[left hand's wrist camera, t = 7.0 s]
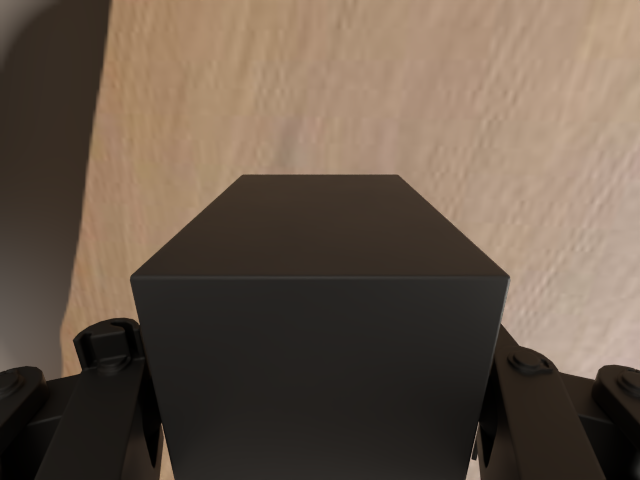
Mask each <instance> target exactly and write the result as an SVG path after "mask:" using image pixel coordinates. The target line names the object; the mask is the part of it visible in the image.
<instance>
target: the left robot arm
mask: <svg viewBox="0 0 640 480" xmlns="http://www.w3.org/2000/svg"><path fill="white" fill-rule="evenodd" d="M73 342H74V346H75V349H76V352H77V355H78V358H79V362H80V365H81V368H82V372H81V374H77V375H73V376H69V377H64V378H60V379H55V380H50V381H46V380H45V378H44V375H43V372H42V371H41V370H40V369H38V368H37V367H29V366H25V367H18V368H13V369H9V370H7V371H3V372H0V480H159V478H160V469H161V459H162V450H163V440H164V436H163V430H162V426H161V423H162V421H161V416H160V412H159V407H158V403H157V398H156V394H155V390H154V385H153V381H152V376H151V372H150V367H149V363H148V358H147V354H146V349H145V345H144V341H143V336H142V332H141V327H140V325H139V324H138V323H137V322H136V321H135V320H133V319H129V318H113V319H109V320H105V321H101V322H98V323H96V324H94V325H91V326H89V327H87V328H86V329H84V330H83V331H81V332H80V333H79V334H78V335H77V336H76V337H75V338H74V339H73ZM477 455H478V458H479V467H480V477H481V480H640V370H637V369H634V368H630V367H626V366H619V365H606V366H603V367H602V368H600V369H599V370H598V373H597V376H596V379H595V380H593V379H588V378H583V377H579V376H574V375H569V374H565V373H561V372H559V371H558V369H557V368H556V366H555V365H554V364H553V362H552V361H550V360H549V359H548V358H546V357H545V356H544V355H542V354H540V353H538V352H536V351H534V350H532V349H529V348H525V347H521V346H519V345H518V344H517V342H516V341H515V340H514V339H513V338H512V336H511V335H510V334H509V333H508V332H507V330H506V329H505V328H504V327H503V325H502V324H500V329H499V333H498V338H497V342H496V346H495V351H494V355H493V360H492V364H491V369H490V373H489V378H488V382H487V386H486V391H485V395H484V400H483V404H482V409H481V413H480V418H479V426H478V430H477V435H476V439H475V443H474V448H473V452H472V460H476V459H477Z"/></svg>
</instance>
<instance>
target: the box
mask: <svg viewBox="0 0 640 480" xmlns="http://www.w3.org/2000/svg"><path fill="white" fill-rule="evenodd" d="M130 283H131V287H132V291H133V296H134V300H135V305H136V309H137V314H138V318H139V323H140V327H141V332H142V336H143V341H144V345H145V349H146V354H147V358H148V363H149V367H150V372H151V376H152V381H153V385H154V390H155V394H156V398H157V403H158V407H159V412H160V416H161V421H162V425H163V430H164V434H165V439H166V443H167V448H168V452H169V456H170V461H171V465H172V470H173V474H174V479H175V480H466V475H467V471H468V466H469V462H470V458H471V453H472V449H473V444H474V440H475V435H476V431H477V426H478V422H479V418H480V413H481V409H482V404H483V400H484V395H485V391H486V386H487V382H488V378H489V373H490V369H491V364H492V360H493V355H494V351H495V346H496V342H497V338H498V333H499V329H500V324H501V320H502V315H503V311H504V306H505V302H506V298H507V293H508V289H509V284H510V276H509V275H508V274H507V273H506V272H505V271H504V270H502V269H501V268H500V267H499V266H498V265H497V264H496V263H495V262H494V261H493V260H491V259H490V258H489V257H488V256H487V255H486V254H485V253H484V252H483V251H481V250H480V249H479V248H478V247H477V246H476V245H475V244H474V243H473V242H472V241H470V240H469V239H468V238H467V237H466V236H465V235H464V234H463V233H462V232H461V231H459V230H458V229H457V228H456V227H455V226H454V225H453V224H452V223H451V222H449V221H448V220H447V219H446V218H445V217H444V216H443V215H442V214H441V213H440V212H438V211H437V210H436V209H435V208H434V207H433V206H432V205H431V204H430V203H429V202H427V201H426V200H425V199H424V198H423V197H422V196H421V195H420V194H419V193H418V192H416V191H415V190H414V189H413V188H412V187H411V186H410V185H409V184H408V183H406V182H405V181H404V180H403V179H402V178H401V177H400V176H399V175H242V176H240V177H239V178H238V179H237V180H236V181H235V182H234V183H233V184H232V185H230V186H229V187H228V188H227V189H226V190H225V191H224V192H223V193H222V194H221V195H219V196H218V197H217V198H216V199H215V200H214V201H213V202H212V203H211V204H210V205H208V206H207V207H206V208H205V209H204V210H203V211H202V212H201V213H200V214H198V215H197V216H196V217H195V218H194V219H193V220H192V221H191V222H190V223H189V224H187V225H186V226H185V227H184V228H183V229H182V230H181V231H180V232H179V233H178V234H176V235H175V236H174V237H173V238H172V239H171V240H170V241H169V242H168V243H166V244H165V245H164V246H163V247H162V248H161V249H160V250H159V251H158V252H157V253H155V254H154V255H153V256H152V257H151V258H150V259H149V260H148V261H147V262H146V263H144V264H143V265H142V266H141V267H140V268H139V269H138V270H137V271H136V272H134V273H133V274H132V275H131V277H130Z"/></svg>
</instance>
